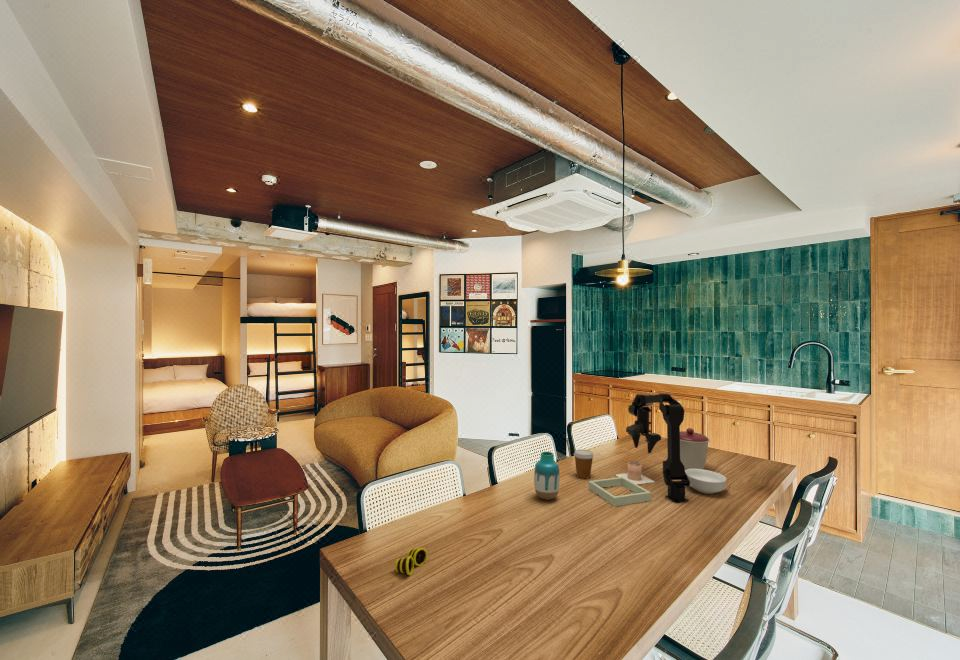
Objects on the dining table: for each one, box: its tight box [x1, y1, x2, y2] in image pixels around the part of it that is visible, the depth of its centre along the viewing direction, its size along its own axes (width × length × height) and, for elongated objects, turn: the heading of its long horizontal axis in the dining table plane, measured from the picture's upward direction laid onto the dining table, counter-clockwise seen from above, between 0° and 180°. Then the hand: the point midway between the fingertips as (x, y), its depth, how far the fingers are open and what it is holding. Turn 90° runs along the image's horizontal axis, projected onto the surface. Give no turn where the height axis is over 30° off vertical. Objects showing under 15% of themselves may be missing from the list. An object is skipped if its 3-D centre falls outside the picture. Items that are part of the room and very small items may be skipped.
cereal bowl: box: [685, 469, 728, 495], centre depth 180 cm, size 17×17×7 cm
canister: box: [680, 427, 711, 470], centre depth 208 cm, size 18×18×21 cm
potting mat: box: [615, 472, 656, 486], centre depth 193 cm, size 13×13×1 cm
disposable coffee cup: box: [573, 448, 595, 479], centre depth 195 cm, size 10×10×12 cm
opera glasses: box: [394, 547, 428, 576], centre depth 120 cm, size 10×5×5 cm, turn 151°
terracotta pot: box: [626, 461, 643, 481], centre depth 192 cm, size 6×6×7 cm
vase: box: [533, 451, 561, 501], centre depth 170 cm, size 11×11×19 cm
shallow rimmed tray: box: [588, 477, 652, 507], centre depth 174 cm, size 18×18×4 cm
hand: (642, 450), depth 199 cm, fingers open, 9 cm apart
